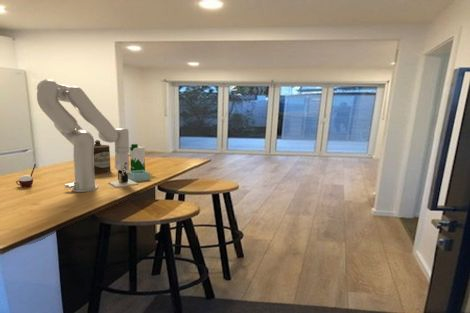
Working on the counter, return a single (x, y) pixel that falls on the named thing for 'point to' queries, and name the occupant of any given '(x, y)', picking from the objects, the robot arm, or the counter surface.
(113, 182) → the lid
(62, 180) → the counter surface
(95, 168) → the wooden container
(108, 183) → the mat
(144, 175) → the dish
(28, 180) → the cocoa
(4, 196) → the counter surface
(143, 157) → the milk carton
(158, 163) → the counter surface
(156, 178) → the counter surface
